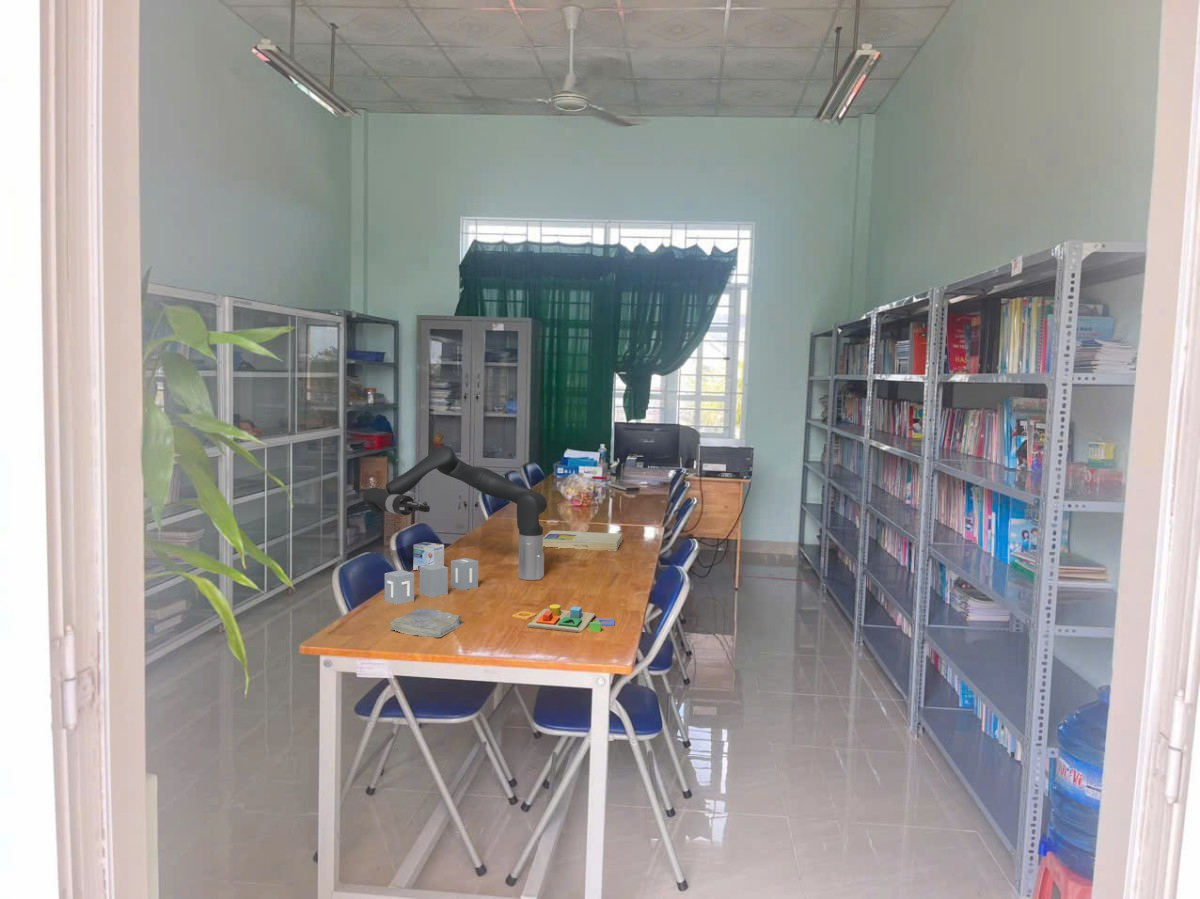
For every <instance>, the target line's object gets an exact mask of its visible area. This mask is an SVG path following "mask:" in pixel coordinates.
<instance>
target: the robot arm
mask: <svg viewBox="0 0 1200 899" xmlns="http://www.w3.org/2000/svg"><path fill="white" fill-rule="evenodd" d="M435 469H436V470H438V472H440V473H441V474H443V475H445V476H447V477H451V478H454V479H455V480H459V481H461V482H463V483H465V484H467V485H468V486H469V487H472V488H473V489H475V490H477V491H479V492H481V493H483V494H484V495H488V496H489V497H493V498H495V499H499V500H500V499H501V500H504V501H508V502H511V503H514V504H516V526H517V528H518V579H520V580H523V581H540V580H542V579H543V578H544V577H545V552H543V551H544V548H543V537H544V527H543V526H542V525H541V524H540V518H539V517H540V516H539V515H541V514H543V513H544V512H545V511H546V510H547V507H548V501H547V499H546V497H545V496H544V495H543V494H542V493H541V492H538V491H536V490H533V489H530V488H527V487H525V486H522V485H519V484H517V483H515V481H512V480H511V479H509V478H506V477H504V476H503V475H500V474H499V473H497V472H495V471H493V470H491V469H489V468H486V467H481V466H472V465H470V464H468V463H466V462H464V461H463V460H461V459H459V457H457V455H456V454H455V452H454V450H453V448H451V447H450V446H447V445H441V446H439V447H437V448H435V449H433V451H432V452H430V453H429V454H428V455H427V456H425V457H424V458H423V459H421V460H420V461H419V462H417V464H415V465H414V466H412V467H411V468H410V469H409V470H407V471H406V472H404V473H403V474H400V475H399V476H397V477H395V478H394V479H392V480H390V481H389V482H388V483H386V485H385V489H386V491H385V490H383V489H382V488H379V487H374V486H373V487H370V488H367V489H366V490H365V491H364V492H363V494H362V498H363V500H364V502H365V504H366V506H367V507H368V508H369V509H370V511H371V512H372V513H373V514H382V513H383V512H387V513H391V514H395V515H401V516H409V515H411V514H412V513H420V512H421V513H429V512H431V511H430V510H431V506H430V505H428V501H423V502H421V501H417V500H414V498H413V497H412V496H410V495H407V493H408V492H409V491H411V490H413V489H414V487H416V486H417V485H418V483H420V482H421V481H422V479H423V478H425V476H426V475H427V474H429V473H430V472H432V471H433V470H435ZM405 494H406V495H405Z"/></svg>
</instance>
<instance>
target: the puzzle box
mask: <svg viewBox="0 0 1200 899" xmlns="http://www.w3.org/2000/svg"><path fill="white" fill-rule="evenodd" d="M622 542H623V533H617V532H616V533H613V532H594V531H593V532H592V531H589V532H588V531H572V530H570V531H569V530H566V531H565V530H550V531H548V532H547V533H546V534H545V535H543V546H545V547H558V548H557V549H560V548H575V549H574V550H581V549H588V550H589V551H602V550H608V552H617V551H618V549H619V548H618V547H620V546H621V544H622ZM620 543H621V544H620ZM619 545H620V546H619ZM588 550H587V551H588Z"/></svg>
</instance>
